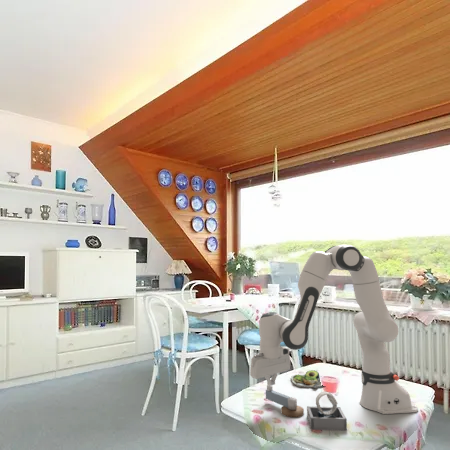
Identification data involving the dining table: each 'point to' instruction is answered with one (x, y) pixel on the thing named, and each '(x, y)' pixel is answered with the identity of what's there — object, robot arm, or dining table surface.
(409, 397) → the robot arm
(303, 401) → the dining table surface
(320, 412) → the watch
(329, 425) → the tray
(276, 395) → the crank arm
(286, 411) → the base
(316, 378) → the avocado toast plate
